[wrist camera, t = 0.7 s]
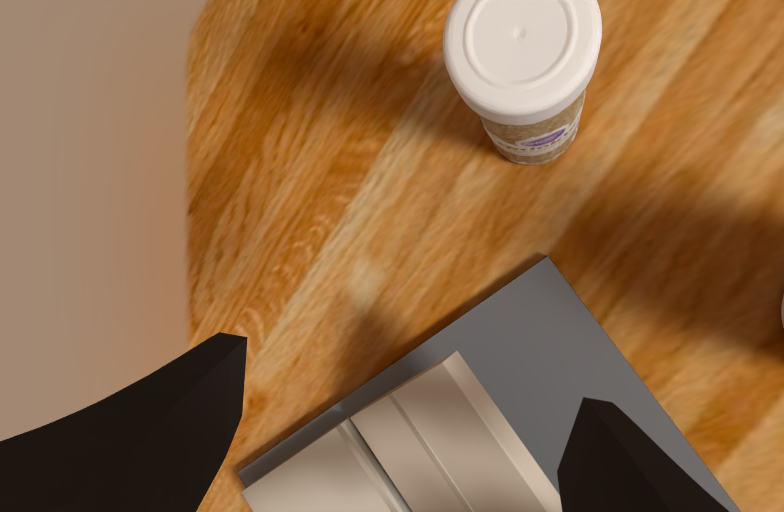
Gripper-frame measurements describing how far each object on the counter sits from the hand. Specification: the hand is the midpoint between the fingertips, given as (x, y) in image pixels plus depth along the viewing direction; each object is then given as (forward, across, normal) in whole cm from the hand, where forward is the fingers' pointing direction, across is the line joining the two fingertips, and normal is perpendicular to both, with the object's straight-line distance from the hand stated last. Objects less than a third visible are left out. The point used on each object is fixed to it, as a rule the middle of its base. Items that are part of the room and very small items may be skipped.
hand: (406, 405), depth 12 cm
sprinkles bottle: (+20, -5, -4) cm, 21 cm away
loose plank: (+11, -6, +14) cm, 19 cm away
